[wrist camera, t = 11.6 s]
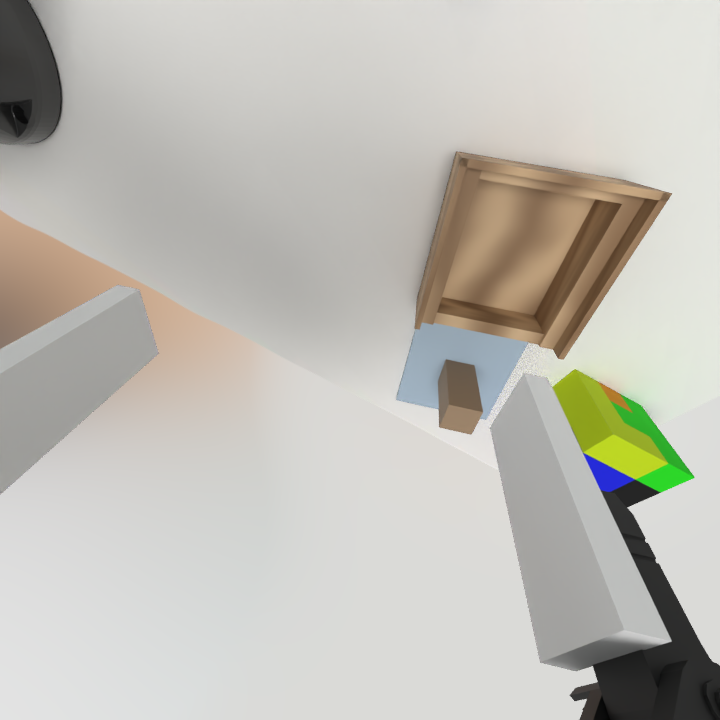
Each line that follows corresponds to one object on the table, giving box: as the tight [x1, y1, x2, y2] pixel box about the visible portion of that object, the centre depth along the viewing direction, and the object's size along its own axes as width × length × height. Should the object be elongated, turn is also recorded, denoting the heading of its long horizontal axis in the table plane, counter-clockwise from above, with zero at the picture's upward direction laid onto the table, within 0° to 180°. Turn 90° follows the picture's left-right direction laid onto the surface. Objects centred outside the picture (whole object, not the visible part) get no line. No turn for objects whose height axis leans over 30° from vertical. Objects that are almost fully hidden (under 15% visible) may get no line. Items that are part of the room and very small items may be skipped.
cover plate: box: [396, 323, 528, 434], centre depth 37 cm, size 12×13×9 cm
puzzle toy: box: [552, 369, 694, 507], centre depth 37 cm, size 10×10×10 cm
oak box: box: [415, 152, 672, 359], centre depth 28 cm, size 14×14×6 cm
